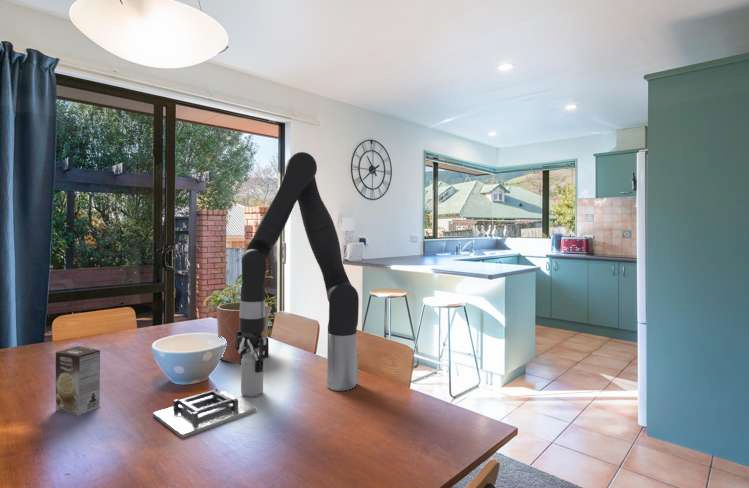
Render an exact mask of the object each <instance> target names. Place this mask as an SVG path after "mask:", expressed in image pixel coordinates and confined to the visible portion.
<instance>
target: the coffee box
mask: <svg viewBox="0 0 749 488" xmlns="http://www.w3.org/2000/svg"><path fill="white" fill-rule="evenodd" d="M100 386H101V349H96V348H90V347H84V346H80V345H77V346H74V347H69V348H65V349H63V350H59V351H56V352H55V411H57V412H61V413H65V414H69V415H73V416H78V417H79V416H81V414H82V415H84V414H86V413H88V412H89V413H90V411H93V409H94V410H96V409H99V408H100V407H101V406H100V405H101V403H100V401H101V398H100V397H101V396H100V395H101V387H100Z"/></svg>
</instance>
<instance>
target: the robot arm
mask: <svg viewBox="0 0 749 488" xmlns="http://www.w3.org/2000/svg"><path fill="white" fill-rule="evenodd" d="M317 171H318V165H317V161H316V159H315V158H314V156H313V155H312V154H310V153H309V152H304V151H300V152H295V153H294V154H292V155H291V156H290V157H289V159H288V160H287V162H286V165H285V171H284V175H283V178H282V182H281V183H280V186H279V188H278V190H277V192H276V194H275V196H274V198H273V199H272V201H271V202H270V204H269V206H267V207H268V208H267V209H266V211H265V212H264V214H263V216H262V217H261V219H260V222H259V223H258V226H257V228H256V230H255V232H254V235H253V237H252V238H251V241H250V242H249V243H248V245H247V247H246V249H244V252H243V254H242V255H241V280H242V281H241V287H240V301H239V302H240V309H239V331H237V332H236V346H235V349H236V350H238V352H239V354H240V362H239V366H240V367H241V359H242V358H243V354H245V353H246V352H247V351H248V349H250V350H251V352H252V354H254V356H255V359H256V360H255V372H256V373H259V372H262V371H263V372H264V360H266V359H268V358H269V357H270V356H269V354H270V353H269V351H270V350H269V337H267V338H262V335H261V333H262V332H263V331H264V330H265V303H266V284H265V282H266V275H267V259H268V257H269V255H270V254H271V250H272V248H273V247H274V246H275V245H276V244H277V242H278V240H279V239H280V237H281V234H282V233H283V231H284V228H285V226H286V225H287V222H288V221H289V218H290V216H291V213H292V212H293V209H294V207H295V205H296V202H297V203H298V207H299V210H300V216H301V220H302V223H303V227H304V231H305V234H306V237H307V240H308V243H309V246H310V249H311V250H312V253H313V256H314V259H315V260H316V263H317V264H318V266H319V269H320V271H321V275H322V278H323V281H324V287H325V290H326V291H325V292H326V297H327V301H328V303H329V304H328V324H327V352H326V353H327V354H326V355H327V357H326V358H327V359H326V361H327V363H326V366H327V367H326V376H327V377H326V378H327V379H326V384H327V385H326V387H327V389H329V388H330V390H331V391H337V392H339V391H340V392H343V391H345V390H346V391H350V390H349V389H351V390H353V389H354V387H355V388H356V386H357V385H359V354H357V340H358V339H357V337H358V336H357V332H358V330H357V329H358V323H359V311H360V310H359V307H360V303H359V302H360V301H359V300H360V298H359V293H358V291H357V289H356V288H355V287H354V286H353V285H352V283H351V282H350V280H349V277H348V273H347V272H346V269H345V267H344V263H343V259H342V258H343V257H342V251H341V245H340V240H339V236H338V232H337V230H336V226H335V223H334V221H333V219H332V216H331V214H330V212H329V210H328V209H327V207H326V205H325V203H324V201H323V200H322V197H321V195H320V192H319V188H318V185H317V180H316V175H317ZM240 342H241V344H240V346H239V343H240ZM258 347H259V349H258ZM263 351H265V355H264V352H263ZM258 353H259V356H258ZM356 384H357V385H356ZM352 388H353V389H352ZM346 391H345V392H346Z"/></svg>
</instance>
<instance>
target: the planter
mask: <svg viewBox="0 0 749 488" xmlns="http://www.w3.org/2000/svg"><path fill="white" fill-rule="evenodd" d="M240 302H241V301H236V302H235V301H234V302H233V301H232V302H225V303H222V304H219V305H218V306H216V316H217V317H216V318H217V319H216V322H217V323H216V324H217V338H218V337H219V338H220V337H221V336H222V337H224V338H225V339H226V341H227V346H226V349H225V352H224V354H223V357H222V359H221V360H223V361H226V362H229V363H233V364H240V354H239V352H238V350H236V349H235V346H236V332H237V331H239V309H240ZM268 327H269V304H268V303H267V302H265V330H264V331H263V332H262V333H261V335H262V338H268ZM222 337H221V338H222ZM240 344H241V342H240V343H239V346H240ZM258 349H259V347H258ZM250 352H251V350H250V349H248V351H247V352H246V353H250ZM263 352H264V355H265V351H263Z"/></svg>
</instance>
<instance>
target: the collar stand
mask: <svg viewBox="0 0 749 488" xmlns="http://www.w3.org/2000/svg"><path fill="white" fill-rule="evenodd" d="M256 412H257V407H256V406H254V405H252V404H250V403H248V402H246V401H244V400H242V399H241V398H239V397H237V396H234V395H233V394H231V393H228V392H227V391H225V390H223V391H221V392H220V391H218V388H217V387H214V388H212V390H209V391H205V392H202V393H201V392H200V393H199V394H198V393H197V394H195V395H191V396H187V397H185V398H182V399H178V398H176V399H172V406H170V407H168V408H165V409H160V410H157V411H154V412H153V417H154V418H155V419H156V420H158V421H159V422H160V423H161V424H163V425H164V426H165V427H167V428H168V429H169V430H170V431H172V432H173V433H174V434H175V435H177V436H178V437H180V438H181V439H184V438H188V437H190V436H193V435H195V434H198V433H200V432H201V433H202V432H203V431H207V430H209V429H211V428H214V427H218V426H220V425H223V424H225V423H228V422H230V421H234V420H236V419H239V418H240V419H241V418H242V417H245V416H248V415H250V414H254V413H256Z"/></svg>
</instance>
